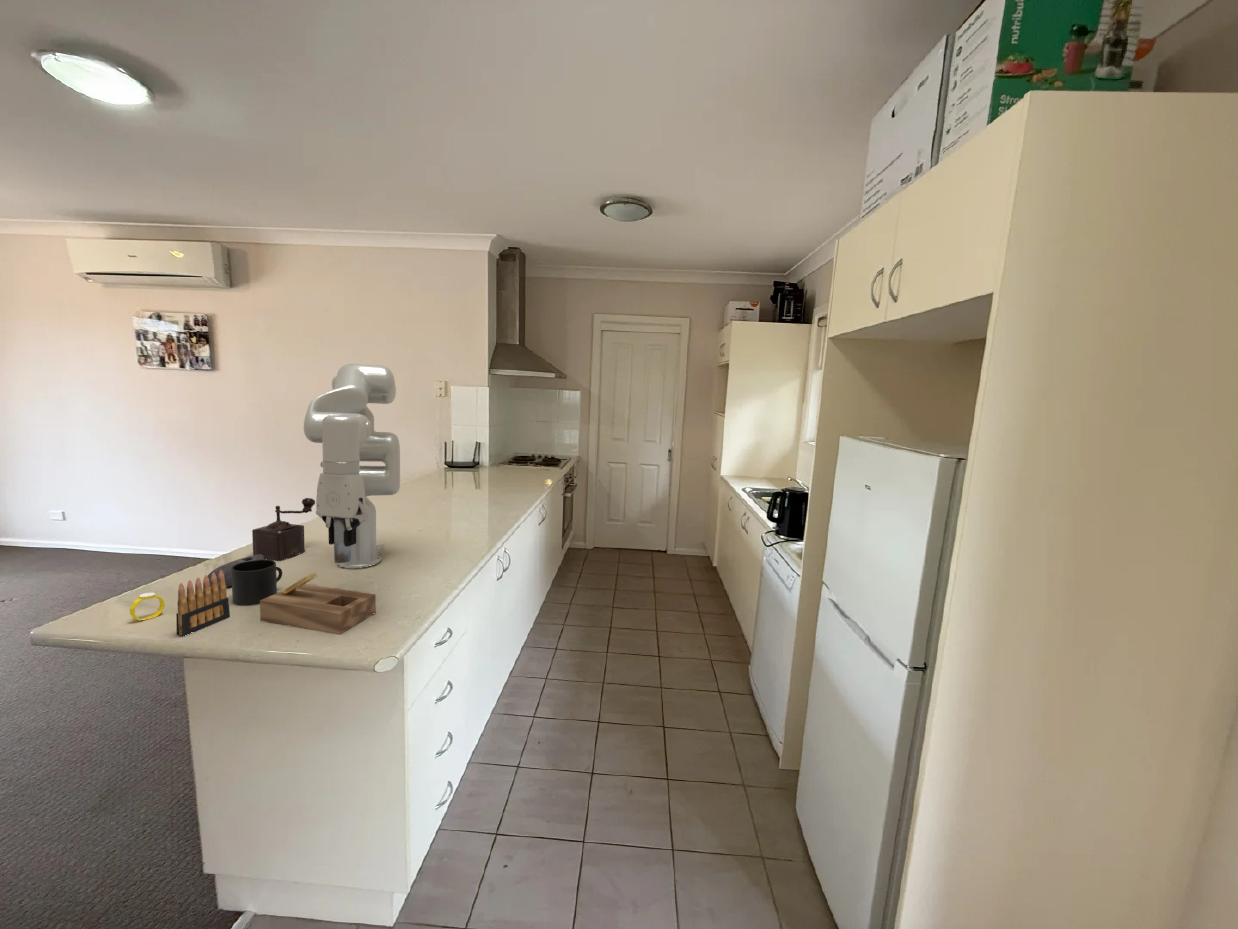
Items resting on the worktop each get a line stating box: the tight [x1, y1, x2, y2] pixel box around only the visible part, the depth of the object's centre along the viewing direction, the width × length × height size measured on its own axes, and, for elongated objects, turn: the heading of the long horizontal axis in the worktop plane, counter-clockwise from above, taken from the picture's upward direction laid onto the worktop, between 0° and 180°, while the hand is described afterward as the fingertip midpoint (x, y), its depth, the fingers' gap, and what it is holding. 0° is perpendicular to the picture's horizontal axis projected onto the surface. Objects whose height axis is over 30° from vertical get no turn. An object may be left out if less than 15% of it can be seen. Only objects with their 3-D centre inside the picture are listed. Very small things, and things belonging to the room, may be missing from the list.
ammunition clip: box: [176, 570, 231, 638], centre depth 114 cm, size 11×2×12 cm, turn 167°
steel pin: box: [333, 517, 351, 564], centre depth 119 cm, size 4×4×11 cm
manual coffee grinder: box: [251, 497, 316, 562], centre depth 166 cm, size 16×11×18 cm
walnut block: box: [259, 583, 377, 635], centre depth 122 cm, size 12×22×5 cm, turn 78°
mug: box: [231, 559, 283, 606], centre depth 132 cm, size 9×12×9 cm
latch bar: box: [282, 572, 318, 595], centre depth 123 cm, size 3×8×1 cm
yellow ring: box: [129, 592, 166, 622], centre depth 117 cm, size 6×3×6 cm, turn 158°
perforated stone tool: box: [207, 554, 265, 589], centre depth 139 cm, size 15×5×7 cm, turn 153°
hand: (342, 543), depth 119 cm, fingers closed on steel pin, 3 cm apart
